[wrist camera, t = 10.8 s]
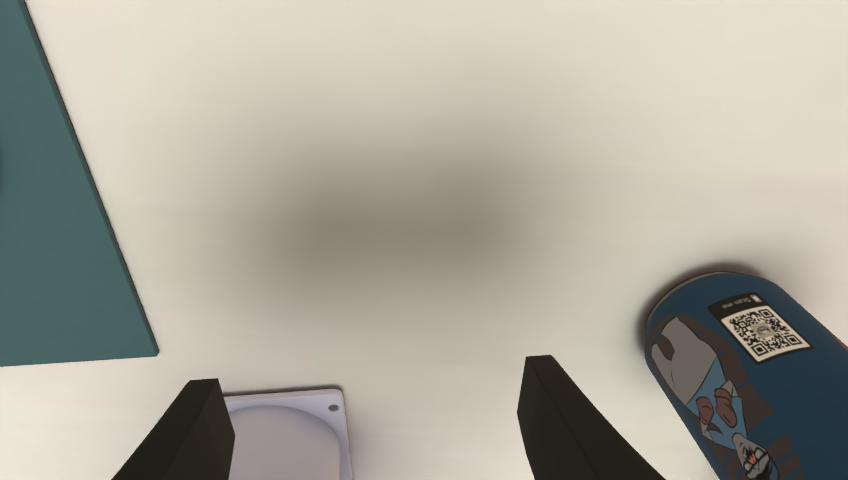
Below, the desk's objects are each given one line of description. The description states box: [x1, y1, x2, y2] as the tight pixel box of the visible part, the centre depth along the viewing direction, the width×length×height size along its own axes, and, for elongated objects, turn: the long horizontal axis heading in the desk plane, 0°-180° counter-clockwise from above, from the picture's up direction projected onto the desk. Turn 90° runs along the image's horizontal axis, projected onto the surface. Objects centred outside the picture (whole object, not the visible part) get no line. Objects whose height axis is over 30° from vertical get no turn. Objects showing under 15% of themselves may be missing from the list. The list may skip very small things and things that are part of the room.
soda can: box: [644, 272, 848, 480], centre depth 20 cm, size 7×7×12 cm
